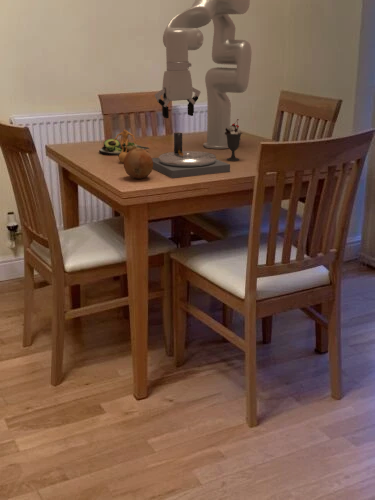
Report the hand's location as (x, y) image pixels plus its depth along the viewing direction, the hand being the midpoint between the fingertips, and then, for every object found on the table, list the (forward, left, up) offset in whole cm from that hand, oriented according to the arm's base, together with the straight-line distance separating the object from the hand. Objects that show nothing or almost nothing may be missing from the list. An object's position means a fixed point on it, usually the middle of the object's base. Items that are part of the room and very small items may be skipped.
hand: (178, 116), depth 228 cm
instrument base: (0, +8, -17) cm, 19 cm away
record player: (0, +8, -14) cm, 17 cm away
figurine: (+16, -12, -17) cm, 27 cm away
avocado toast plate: (+11, -32, -18) cm, 38 cm away
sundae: (-22, +2, -17) cm, 28 cm away
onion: (+21, +14, -17) cm, 31 cm away
